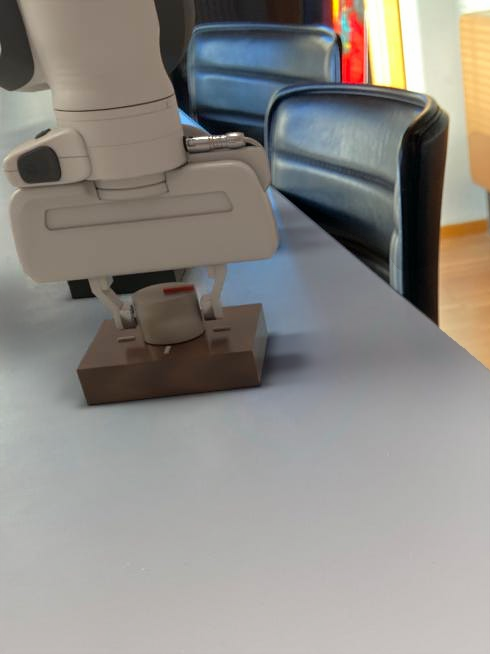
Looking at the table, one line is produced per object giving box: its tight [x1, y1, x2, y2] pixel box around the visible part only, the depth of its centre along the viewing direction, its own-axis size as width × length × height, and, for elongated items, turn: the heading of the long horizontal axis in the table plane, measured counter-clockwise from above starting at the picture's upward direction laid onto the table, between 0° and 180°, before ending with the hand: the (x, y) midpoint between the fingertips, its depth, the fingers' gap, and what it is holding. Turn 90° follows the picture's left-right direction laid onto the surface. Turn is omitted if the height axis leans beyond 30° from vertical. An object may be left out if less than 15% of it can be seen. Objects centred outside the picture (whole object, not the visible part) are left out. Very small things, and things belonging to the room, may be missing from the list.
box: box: [66, 268, 187, 299], centre depth 109 cm, size 11×10×4 cm
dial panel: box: [75, 302, 269, 406], centre depth 87 cm, size 14×12×3 cm
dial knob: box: [131, 281, 205, 345], centre depth 85 cm, size 5×5×4 cm
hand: (171, 322), depth 85 cm, fingers open, 6 cm apart
